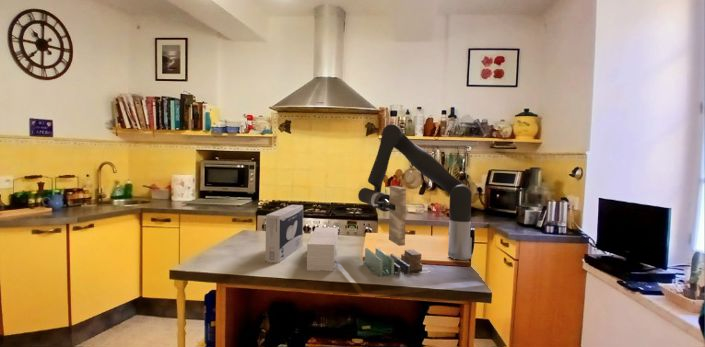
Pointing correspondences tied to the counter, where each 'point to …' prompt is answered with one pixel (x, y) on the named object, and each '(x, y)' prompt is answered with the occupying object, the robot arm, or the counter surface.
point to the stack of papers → (322, 249)
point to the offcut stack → (412, 259)
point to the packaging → (283, 232)
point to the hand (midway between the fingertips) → (398, 207)
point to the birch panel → (397, 215)
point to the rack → (388, 264)
